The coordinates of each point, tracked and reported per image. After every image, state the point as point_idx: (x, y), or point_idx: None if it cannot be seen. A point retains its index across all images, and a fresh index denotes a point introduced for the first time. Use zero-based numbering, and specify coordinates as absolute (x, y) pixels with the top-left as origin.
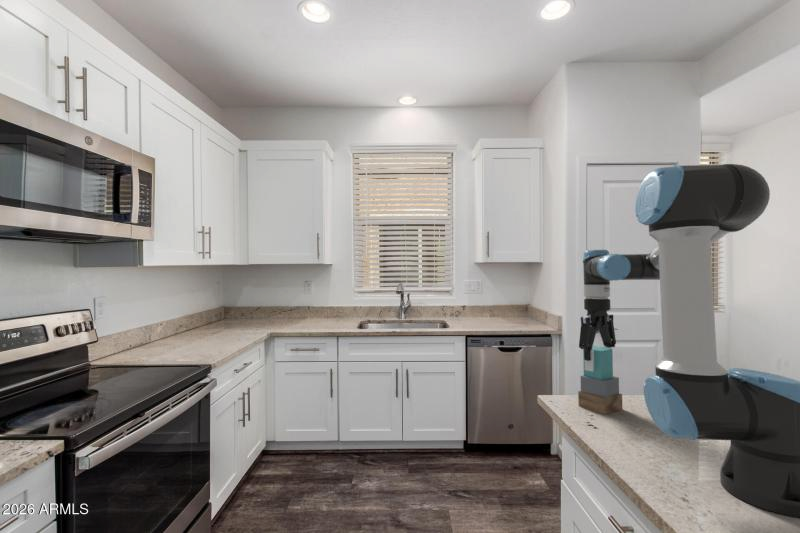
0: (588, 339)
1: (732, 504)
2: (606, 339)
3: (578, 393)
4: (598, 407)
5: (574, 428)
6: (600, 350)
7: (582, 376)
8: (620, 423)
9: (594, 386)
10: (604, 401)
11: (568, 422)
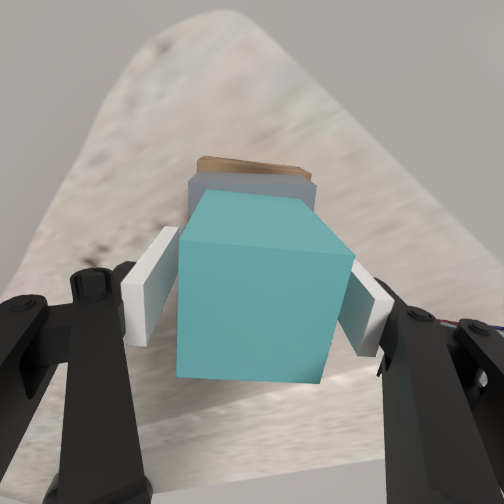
0: (10, 436)
1: (32, 479)
2: (389, 391)
3: (199, 159)
4: None
5: (29, 251)
6: (194, 368)
7: (190, 191)
8: (172, 298)
9: None
10: None
11: (48, 218)
